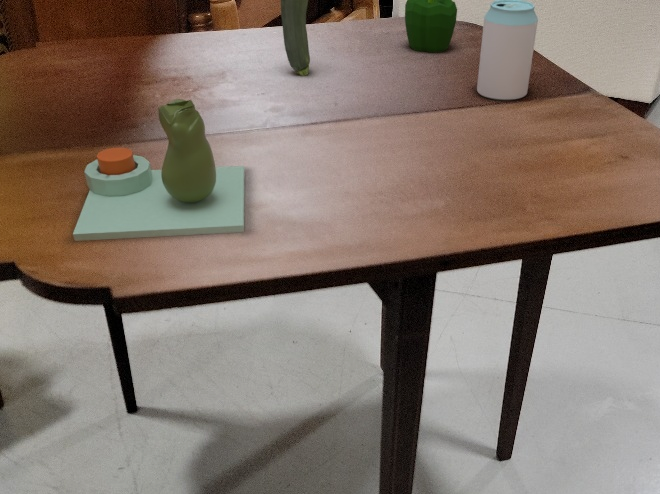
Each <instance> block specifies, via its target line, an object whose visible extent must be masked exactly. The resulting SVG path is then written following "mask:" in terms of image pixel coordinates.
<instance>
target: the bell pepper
mask: <svg viewBox="0 0 660 494" xmlns="http://www.w3.org/2000/svg"><path fill="white" fill-rule="evenodd" d="M457 15H458V7H457V5H456V2H455V1H453V0H406V2H405V5H404V25H405V29H406V30H405V31H406V37H407V41H408V45H409V47H410V49H412V50H413V51H416V52H421V53H422V52H426V53H434V54H436V53H442V52H445V51H447V49H448V48H449V47H450V44H451V41H452V37H453V36H454V35H453V34H454V30H455V27H456V24H457V18H458V17H457Z"/></svg>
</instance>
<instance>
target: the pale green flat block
mask: <svg viewBox="0 0 660 494" xmlns="http://www.w3.org/2000/svg"><path fill="white" fill-rule="evenodd" d="M133 157H134V162H135V167H136V169H135V170H133V171H131V172H129V173H125V174H121V175H105V174H101V173H100V169H99V164H98V160H97V159H95V160H93V161H91V162H90V163H88V164H86V167H85V169H84V176H85V180H86V184H87V188H88V189H89V191H88V194H87V196H86V199H85V201H84V204H83V206H82V209H81V211H80V214H79V217H78V219H77V222H76V225H75V227H74V230H73V233H72V236H73V241H75V242H78V241H79V242H81V241H82V242H83V241H102V240H120V239H122V240H123V239H137V238H139V239H140V238H157V237H158V238H159V237H173V236H174V237H175V236H193V235H194V236H196V235H215V234H233V233H234V234H235V233H244V232H245V177H246V176H245V166H244V165H235V166H233V165H231V166H215V168H216V183H215V187H214V189H213V191H212V192H211V194H210V195H209V196H208V197H206V198H205V199H203V200H201V201H198V202H192V203H187V202H182V201H179V200H177V199H175V198H173V197H172V196H171V195H170V194H169V193H168V192H167V190H166V189H165V187H164V184H163V182H162V177H161V171H162V169H152V168H151V163H150V162H151V161H149V160H148V159H146V158H145V157H144V156H141V155H136V154H133Z"/></svg>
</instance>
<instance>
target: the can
mask: <svg viewBox="0 0 660 494" xmlns="http://www.w3.org/2000/svg"><path fill="white" fill-rule="evenodd" d="M535 8H536V5H535V4H534V3H533V2H530V1H528V0H493V1H492V2H490V8H489V9H488V10H487V12H486V13H485V14H484V16H483V25H482V33H481V34H482V35H481V45H480V56H479V63H478V65H479V66H478V75H477V83H476V92H477V93H478V94H479V95H480V96H482V97H483V98H485V99H490V100H494V101H514V100H515V101H516V100H520V99H523V98H524V97H526V96H527V94H528V92H529V91H528V89H529V83H530V76H531V69H532V64H533V63H532V62H533V58H534V57H533V56H534V49H535V43H536V36H537V29H538V21H539V19H538V16H537V14H536V11H535Z"/></svg>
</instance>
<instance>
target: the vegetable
mask: <svg viewBox="0 0 660 494" xmlns="http://www.w3.org/2000/svg"><path fill="white" fill-rule="evenodd" d="M308 3H309V0H280V16H281V17H280V18H281V25H282V36H283V45H284V49H285V53H286V57H287V61H288V63H289V66H290V67H291V69H293V70H294V71H295V72H296V74H299V75H300V76H301V77H305V76H308V74H309V71H310V63H311V56H310V55H311V54H310V49H309V39H308V31H307V9H308V5H309V4H308Z"/></svg>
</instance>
